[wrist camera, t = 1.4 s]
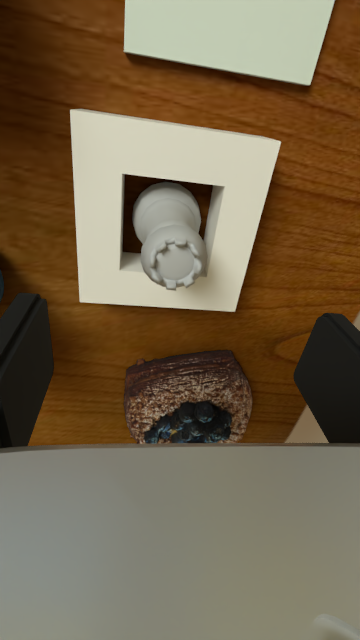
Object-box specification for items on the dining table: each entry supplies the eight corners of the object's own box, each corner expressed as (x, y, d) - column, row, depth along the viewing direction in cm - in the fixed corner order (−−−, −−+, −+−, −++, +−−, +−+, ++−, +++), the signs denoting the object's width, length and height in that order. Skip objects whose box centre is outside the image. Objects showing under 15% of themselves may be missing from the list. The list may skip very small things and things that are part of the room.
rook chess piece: (210, 195, 21) (240, 238, 14) (184, 256, 23) (200, 317, 16) (144, 168, 19) (144, 201, 13) (124, 235, 22) (114, 292, 15)
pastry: (113, 359, 28) (107, 412, 23) (246, 339, 28) (268, 387, 23) (137, 434, 34) (137, 488, 29) (246, 417, 34) (263, 468, 30)
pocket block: (80, 108, 17) (69, 109, 15) (263, 136, 19) (281, 141, 16) (86, 280, 23) (79, 302, 21) (225, 290, 25) (234, 311, 22)
